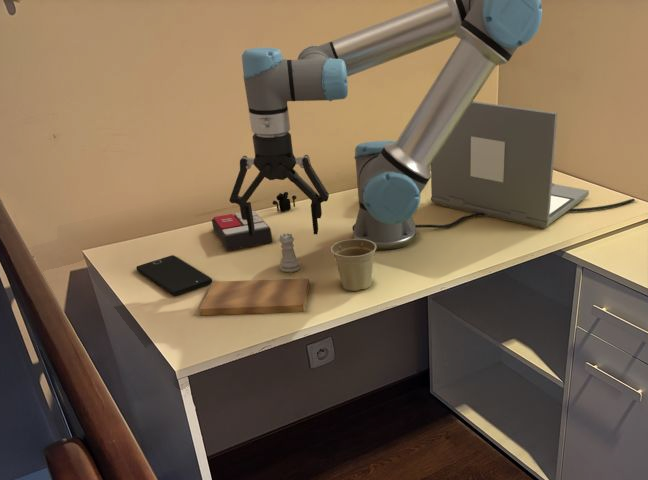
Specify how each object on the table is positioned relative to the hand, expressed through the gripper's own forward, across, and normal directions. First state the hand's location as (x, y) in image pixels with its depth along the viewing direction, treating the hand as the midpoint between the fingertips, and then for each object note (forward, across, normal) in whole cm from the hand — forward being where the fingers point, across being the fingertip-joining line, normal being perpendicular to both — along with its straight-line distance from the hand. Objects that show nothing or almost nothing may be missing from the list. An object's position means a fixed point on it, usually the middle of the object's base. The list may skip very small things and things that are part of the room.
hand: (284, 232), depth 147 cm
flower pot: (+9, +15, -9) cm, 20 cm away
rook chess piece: (+9, 0, 0) cm, 9 cm away
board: (+9, -5, -14) cm, 17 cm away
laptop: (+8, +55, +38) cm, 68 cm away
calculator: (+9, -14, +20) cm, 26 cm away
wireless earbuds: (+9, -6, +37) cm, 38 cm away
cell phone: (+9, -24, -2) cm, 26 cm away
